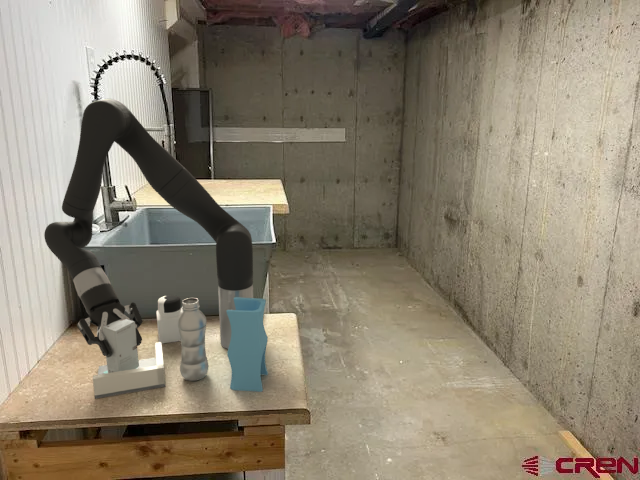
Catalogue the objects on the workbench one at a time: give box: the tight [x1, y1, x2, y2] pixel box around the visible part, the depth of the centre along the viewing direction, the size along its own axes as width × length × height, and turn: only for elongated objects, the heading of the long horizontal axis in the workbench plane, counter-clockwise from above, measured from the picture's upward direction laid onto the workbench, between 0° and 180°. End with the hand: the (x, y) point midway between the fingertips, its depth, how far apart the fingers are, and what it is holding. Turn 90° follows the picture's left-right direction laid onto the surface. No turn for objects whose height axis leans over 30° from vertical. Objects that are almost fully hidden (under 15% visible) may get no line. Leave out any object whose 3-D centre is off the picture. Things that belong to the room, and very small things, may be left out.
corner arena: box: [92, 341, 166, 399], centre depth 114 cm, size 15×13×5 cm
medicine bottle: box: [155, 294, 184, 345], centre depth 133 cm, size 7×7×12 cm
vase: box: [226, 297, 269, 393], centre depth 111 cm, size 8×8×20 cm
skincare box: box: [103, 319, 140, 373], centre depth 113 cm, size 6×4×12 cm
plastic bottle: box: [178, 297, 210, 382], centre depth 113 cm, size 6×7×20 cm
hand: (124, 349), depth 112 cm, fingers closed on skincare box, 6 cm apart
